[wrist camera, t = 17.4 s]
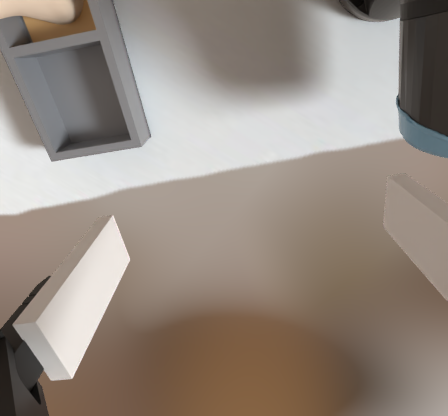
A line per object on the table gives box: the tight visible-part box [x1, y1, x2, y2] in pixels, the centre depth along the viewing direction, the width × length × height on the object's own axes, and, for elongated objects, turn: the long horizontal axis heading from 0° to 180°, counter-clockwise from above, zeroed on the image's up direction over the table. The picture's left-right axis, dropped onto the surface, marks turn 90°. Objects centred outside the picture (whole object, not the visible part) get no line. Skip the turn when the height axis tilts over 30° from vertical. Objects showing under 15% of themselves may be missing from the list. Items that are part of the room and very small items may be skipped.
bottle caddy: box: [0, 0, 151, 162], centre depth 41 cm, size 14×30×6 cm, turn 10°
